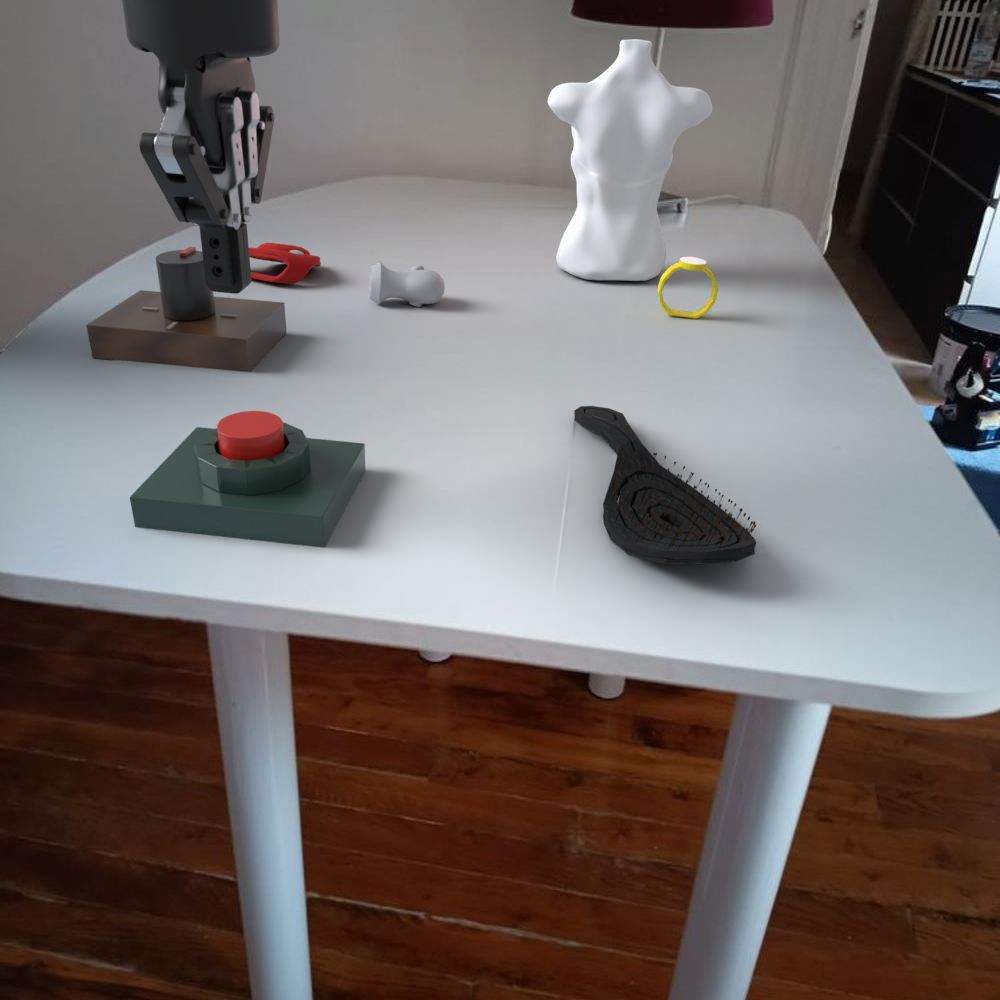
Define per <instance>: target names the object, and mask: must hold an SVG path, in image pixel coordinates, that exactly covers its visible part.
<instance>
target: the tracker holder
mask: <svg viewBox="0 0 1000 1000" xmlns="http://www.w3.org/2000/svg"><path fill="white" fill-rule="evenodd" d="M249 258H251V259H254V260H261V261H268V262H274V263H280V264H285V265H287V266H286V267H285V269H284V270H283V271H282V272H280V273H279V274H278V275H276V276H274V275H269V274H264V273H259V272H254V271H251V279H254V280H255V279H256V280H259V281H264V282H270V283H277V284H278V283H279V284H284V285H293V284H297V283H300V282H301V281H302V280H303V279H304V278H305V277H306V276H307V274H308V273H309V272H310V270H311V269H313V267H320V266H321V265H322V262H321V257H320V256H319V255H315V254H314V255H313V254H311V252H310V251H308V249H306V248H305V247H302V246H299V245H296V244H292V243H288V242H287V243H286V242H278V241H277V242H264V243H261V244H259V245H258V246H257V247H249Z"/></svg>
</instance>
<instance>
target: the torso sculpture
mask: <svg viewBox="0 0 1000 1000" xmlns="http://www.w3.org/2000/svg"><path fill="white" fill-rule="evenodd" d="M652 47H653V42H652V41H651V40H645V39H639V38H632V39H622V40H620V42H619V52H618V55H617V57H616V59H615V61H614V62H613V63H612V64H611V65H610V66H609V67H608V68H607V69H606V70H605V71H603V72H602V73H601V74H600V75H599V76H597V77H596V78H594V79H592V80H591V81H589V82H564V83H561V84H558V85H556V86H554V87H553V88H552V89H551V91H550V92H549V95H548V97H547V105H548V106H549V109H550V110H551V111H552V112H553V113H554V115H555V116H556V117H557V118H558V119H559V120H560V121H562V122H564V123H566V124H569V125H570V126H571V136H572V140H573V148H572V151H571V154H570V166H571V170H572V172H573V175H574V177H575V181H576V200H577V204H576V209H575V211H574V213H573V216H572V218H571V220H570V221H569V223H568V225H567V227H566V228H565V230H564V233H563V235H562V237H561V239H560V242H559V246H558V249H557V252H556V257H555V258H556V259H555V260H556V261H555V262H556V264H557V266H558V267H559V269H561V270H563V271H565V272H566V273H567V274H569V275H572V276H574V277H577V278H580V279H583V280H590V281H591V280H592V281H627V282H628V281H630V282H639V281H640V282H641V281H642V282H643V281H644V282H645V281H649V280H652V279H653V278H655V277H657V276H659V275H660V273H661V272H662V271H663V268H664V266H665V264H666V260H667V245H666V241H665V240H666V239H665V236H664V232H663V228H662V225H661V221H660V218H659V215H658V214H659V213H658V202H659V199H660V196H661V192H662V188H663V183H664V179H665V177H666V175H667V174H668V172H669V170H670V168H671V165H672V163H673V160H674V152H673V150H674V146H675V144H676V142H677V140H678V139H679V137H680V136H681V135H682V134H683V133H684V132H685V131H686V130H688V129H691V128H693V127H697V126H698V125H700V124H701V123H702V122H704V121H705V120H706V119H708V118H709V117H710V116H711V114H712V113H713V111H714V110H713V109H714V107H713V106H714V105H713V103H712V100H711V97H710V96H709V94H708V93H707V92H706V91H705V90H703V89H700V88H697V87H689V86H676V85H673V84H671V83H670V82H669V81H668V80H667V78H666V77H665V76H664V74H663V73H661V71H660V70H659V69H658V67H656V65H655V63H654V61H653V59H652V54H651V53H652Z"/></svg>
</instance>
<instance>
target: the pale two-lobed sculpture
mask: <svg viewBox="0 0 1000 1000" xmlns="http://www.w3.org/2000/svg"><path fill="white" fill-rule="evenodd" d="M368 279H369V280H368V296H369V297H368V298H369V300H371V301H372V302H374V303H375V304H376V305H380V304H381V303H383V301H386V300H387V299H391V298H395V299H401V300H403V301H406V302H408V303H409V305H411V306H414V307H417V308H421V307H422V305H433V304H435V303H438V302H439V301H440V300H441V299H442V298H443V296H444V294H445V290H446V286H445V285H446V284H445V280H444V278H443V277H442V275H441V274H440V273H438V272H437V271H434V270H430V269H425V267H424V265H413V266H411V267H410V268H407V269H403V270H400V271H398V270H392V269H389V268H388V267H386V266H385V264H384V263H383V262H382V261H379V262H377V263H374V264H373V265H371V266H370V270H369V277H368Z"/></svg>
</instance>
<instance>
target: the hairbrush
mask: <svg viewBox="0 0 1000 1000" xmlns="http://www.w3.org/2000/svg"><path fill="white" fill-rule="evenodd" d="M573 411H574V422H575V423H577V424H578V425H580V426H581V427H583V428H585V429H587V430H588V431H590V432H591V433H594V434H596V435H598V436H600V437H601V439H603V441H604V442H605V443H606V444H607V445H608V446H609V447H610V448H611V450H612V452H614V453H615V454H616V461H615V464H614V468H613V472H612V476H611V478H610V482H609V485H608V487H607V490H606V493H605V497H604V500H603V504H602V509H603V513H602V519H603V525H604V528H605V530H606V532H607V535H608V537H609V540H610V541H611V542H612V543H613V544H615V545H616V546H617V547H618V548H619V549H620V550H622V551H623V552H624V553H625V554H626V555H628V556H631V557H634V558H639V559H643V560H647V561H651V562H656V563H659V564H668V565H669V564H671V565H673V564H675V565H676V564H677V565H681V564H682V565H683V564H684V565H706V564H720V563H721V564H722V563H733V562H739V561H741V560H744V559H747V558H749V557H751V556H754V555H756V549H755V548H756V546H757V543H758V542H757V541H756V539H755V538H754V536H753V535H752V533H753V532H754V531H755V528H756V527H757V524H756V523H757V521H753V520H752V521H751V522H750V524H749V526H748V527H746V524H747V523H748V521H750V519H751V516H750V515H749V516H747V513H746V512H744V513H743V508H741V507H739V510H738V511H739V512H738V514H737V515H736V517H733V513H732V512H728V513H727V511H728V509H729V508H724V509H722V504H721V501H722V499H723V498H724V496H725V495H724V494H722V493H721V492H720V491H718V488H715V489H714V493H716V492H717V491H718V496H720V495H721V494H722V495H721V498H720V500H719V501H718V504H716V501H717V499H718V498H716V499H714V500H713V501H712V500H711V499H713V496H712V498H711V499H710V495H709V494H707V496H705V493H706V492H707V489H709V487H710V484H709V483H708V482H705V483H704V487H703V488H702V490H701V491H699V490H697V488H698V487H699V485H700V484H701V482H702V478H700V479H699V483H698V484H697V485H694V486H692V485H691V484H689V483H690V481H691V480H692V477H693V476H694V475H695V472H693V471H692V472H690V474H689V476H688V478H687V479H686V480H683V479H682V478H683V474H680V473H677V475H676V474H674V473H673V472H671V470H670V468H666V467H664V466H662V465H663V464H660V463H659V462H658V460H657V459H656V457H657V455H658V452H653V455H652V453H651V452H650V451H649V449H648V448H647V447H646V446H645V445H644V443H643V442H642V441H641V440H640V438H639V436H638V435H637V434H636V432H635V431H634V429H633V428H632V426H631V425H630V424H629V422H628V420H627V418H626V417H625V415H624V413H622V412H620V411H617V410H614V409H612V408H609V407H604V406H595V405H581V406H579V407H577V408H576V409H574V410H573ZM666 459H667V455H664V460H666ZM676 464H677V461H674V462H673V466H675V465H676ZM685 469H686V466H685V465H684V466H683V467H682V470H685ZM706 486H707V487H706ZM705 487H706V489H705ZM704 489H705V491H704ZM703 493H704V494H703ZM618 500H619V501H618ZM617 501H618V505H617ZM733 502H734V501H733V500H731V498H728V499H727V503H730V504H733ZM735 507H737V502H736V503H734V505H733V508H735ZM741 513H743V514H742V516H743V518H744V517H746V516H747V521H746V522H745V525H744V526H743V525H742V524H741V523H742V521H740V522H739V521H737V520H738V518H739V516H740V515H741ZM750 527H751V528H750Z"/></svg>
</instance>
